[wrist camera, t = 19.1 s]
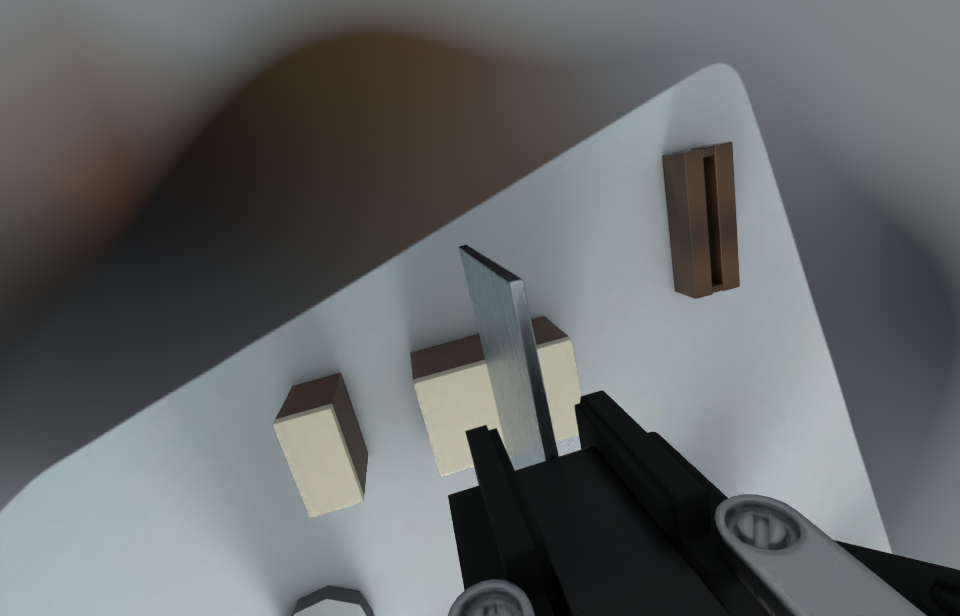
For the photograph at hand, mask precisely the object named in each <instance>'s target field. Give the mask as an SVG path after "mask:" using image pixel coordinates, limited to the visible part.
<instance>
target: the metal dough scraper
mask: <svg viewBox="0 0 960 616" xmlns="http://www.w3.org/2000/svg"><path fill="white" fill-rule="evenodd" d="M459 250H460V255H461V259H462V263H463V267H464V272H465V276H466V280H467V284H468V289H469V293H470V297H471V301H472V306H473V310H474V314H475V318H476V323H477V327H478V331H479V335H480V340H481V344H482V348H483V352H484V357H485V361H486V365H487V369H488V374H489V378H490V382H491V386H492V391H493V395H494V399H495V403H496V408H497V412H498V416H499V420H500V425H501V429H502V433H503V437H504V442H505V446H506V450H507V453H508V456H509V458H510V460H511V463H512V465H513V467H514V470H515V472H516V474H517V477H518V479H519V481H520V484H521V486H522V488H523V491H524V493H525V495H526V498H527V500H528V502H529V504H530V507H531V509H532V511H533V514H534V516H535V518H536V521H537V523H538V525H539V528H540V530H541V532H542V535H543V538H544V541H545V544H546V547H547V550H548V553H549V557H550V561H551V566H552V571H553V574H552V581H553V586H554V590H555V595H556V599H557V604H558V609H559V613H560V616H733V615H732V614H731V613H730V612H729V611H728V609H727V608H726V607H725V606H724V604H723V603H722V602H721V601H720V599H719V598H718V597H717V596H716V595H715V593H714V592H713V591H712V590H711V588H710V587H709V586H708V585H707V583H706V582H705V581H704V580H703V579H702V577H701V576H700V575H699V574H698V572H697V571H696V570H695V569H694V567H693V566H692V565H691V564H690V562H689V561H688V560H687V559H686V558H685V556H684V555H683V554H682V553H681V551H680V550H679V549H678V548H677V546H676V545H675V544H674V543H673V542H672V540H671V539H670V538H669V537H668V535H667V534H665V532H664V531H663V530H662V529H661V527H660V526H659V525H658V524H657V522H656V521H655V520H654V519H653V518H652V516H651V515H650V514H649V513H648V511H647V510H646V509H645V508H644V506H643V505H642V504H641V503H640V501H639V500H638V499H637V498H636V496H635V495H634V494H633V493H632V492H631V490H630V489H629V488H628V487H627V485H626V484H625V483H624V482H623V480H622V479H621V478H620V477H619V475H618V474H617V473H616V472H615V471H614V469H613V468H612V467H611V466H610V464H609V463H608V462H607V461H606V459H605V458H604V457H603V456H602V454H601V453H600V452H599V451H598V449H597V448H596V447H595V446H592V447H588V448H585V449H582V450H579V451H575V452H572V453H569V454H566V455H563V456H558V451H557V446H556V441H555V436H554V431H553V426H552V421H551V416H550V411H549V406H548V401H547V396H546V391H545V386H544V381H543V376H542V372H541V367H540V362H539V357H538V352H537V347H536V342H535V337H534V332H533V327H532V322H531V317H530V312H529V307H528V302H527V297H526V292H525V287H524V282H523V279H521V278H520V277H518V276H516V275H515V274H513V273H511V272H510V271H508V270H507V269H505V268H503V267H502V266H500V265H498V264H497V263H495V262H493V261H492V260H490V259H489V258H487V257H485V256H484V255H482V254H480V253H479V252H477V251H475V250H474V249H472V248H471V247H469V246H467V245H464V246H460V247H459Z"/></svg>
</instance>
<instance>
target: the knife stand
mask: <svg viewBox="0 0 960 616" xmlns="http://www.w3.org/2000/svg"><path fill="white" fill-rule="evenodd" d="M662 158H663V168H664V179H665V189H666V200H667V210H668V221H669V231H670V242H671V252H672V263H673V273H674V284H675V291H676V292H678V293H681V294H684V295H687V296H690V297H692V298H695V299H697V298H701V297H704V296H708V295H712V294H713V293H714V292H718V291H721V290H722V291H725V290H729V289H733V288H736V287H739V286H740V281H739V262H738V243H737V224H736V204H735V185H734V166H733V146H732V142H726V143H719V144H712V145H706V146H702V147H697V148H693V149H691V150H688V151H681V152H676V153H672V154H668V155H663V156H662Z"/></svg>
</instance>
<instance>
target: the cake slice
mask: <svg viewBox="0 0 960 616" xmlns="http://www.w3.org/2000/svg"><path fill="white" fill-rule="evenodd" d="M273 427H274V430H275V432H276V435H277V437H278V440H279V442H280V445H281V447H282V450H283V452H284V455H285V457H286V460H287V462H288V465H289V467H290V470H291V472H292V475H293V477H294V480H295V482H296V485H297V487H298V490H299V492H300V495H301V497H302V500H303V502H304V505H305V507H306V510H307V512H308V515H309V517H310V518H313V517H316V516H319V515H322V514H326V513H329V512H332V511H335V510H339V509H342V508H345V507H348V506H352V505H355V504H358V503H361V502H363V501H364V493H365V483H366V472H367V462H368V452H367V449H366V446H365V443H364V440H363V437H362V434H361V431H360V428H359V425H358V422H357V419H356V416H355V413H354V410H353V407H352V404H351V401H350V398H349V395H348V392H347V389H346V386H345V383H344V380H343V378H342V375H341V373H339V374H335V375H332V376H328V377H324V378H321V379H317V380H314V381H310V382H306V383H303V384H299V385H295V386H292V388H291V390H290V392H289V394H288V396H287V398H286V400H285V402H284V404H283V405H282V407H281V409H280V411H279V413H278V415H277V417H276V419H275V421H274V423H273Z"/></svg>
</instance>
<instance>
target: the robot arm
mask: <svg viewBox="0 0 960 616" xmlns="http://www.w3.org/2000/svg"><path fill="white" fill-rule="evenodd" d="M574 408H575V415H576V421H577V426H578V432H579V438H580V443H581V449H585V448H588V447H592V446H595V447H596V448H597V449H598V451H599V452H600V453H601V454H602V456H603V457H604V458H605V459H606V461H607V462H608V463H609V464H610V466H611V467H612V468H613V469H614V471H615V472H616V473H617V474H618V475H619V477H620V478H621V479H622V480H623V482H624V483H625V484H626V485H627V487H628V488H629V489H630V490H631V492H632V493H633V494H634V495H635V496H636V498H637V499H638V500H639V501H640V503H641V504H642V505H643V506H644V508H645V509H646V510H647V511H648V513H649V514H650V515H651V516H652V518H653V519H654V520H655V521H656V522H657V524H658V525H659V526H660V527H661V529H662V530H663V531H664V532H665V534H667V535H668V537H669V538H670V539H671V540H672V542H673V543H674V544H675V545H676V546H677V548H678V549H679V550H680V551H681V553H682V554H683V555H684V556H685V558H686V559H687V560H688V561H689V562H690V564H691V565H692V566H693V567H694V569H695V570H696V571H697V572H698V574H699V575H700V576H701V577H702V579H703V580H704V581H705V582H706V583H707V585H708V586H709V587H710V588H711V590H712V591H713V592H714V593H715V595H716V596H717V597H718V598H719V599H720V601H721V602H722V603H723V604H724V606H725V607H726V608H727V609H728V611H729V612H730V613H731V614H732V615H733V616H960V570H957V569H953V568H948V567H944V566H940V565H936V564H932V563H928V562H923V561H919V560H915V559H911V558H906V557H902V556H898V555H894V554H890V553H885V552H881V551H877V550H873V549H869V548H864V547H860V546H856V545H852V544H848V543H843V542H839V541H835V540H833V539H831V538H830V537H829V536H828V535H826V534H825V533H824V532H823V531H821V530H820V529H819V528H818V527H817V526H815V525H814V524H813V523H812V522H810V521H809V520H808V519H807V518H805V517H804V516H803V515H802V514H800V513H799V512H798V511H797V510H795V509H793V508H792V507H790V506H789V505H787V504H786V503H783V502H781V501H778V500H776V499H773V498H770V497H766V496H761V495H747V494H743V495H738V496H733V497H730V498H727V497H726V496H725V495H724V494H723V493H722V492H721V491H720V490H719V489H718V488H716V487H715V486H714V485H713V484H712V483H711V482H710V481H709V480H708V479H707V478H706V477H705V476H704V475H702V474H701V473H700V472H699V471H698V470H697V469H696V468H695V467H694V466H693V465H692V464H691V463H689V462H688V461H687V460H686V459H685V458H684V457H683V456H682V455H681V454H680V453H679V452H678V451H677V450H675V449H674V448H673V447H672V446H671V445H670V444H669V443H668V442H667V441H666V440H665V439H664V438H662V437H661V436H660V435H659V434H657V433H656V432H649V433H647V432H646V431H645V430H644V429H643V428H642V427H641V426H640V425H639V424H637V423H636V422H635V421H634V420H633V419H632V418H631V417H630V416H629V415H628V414H627V413H626V412H625V411H624V410H623V409H622V408H621V407H620V406H619V405H618V404H617V403H616V402H615V401H614V400H613V399H612V398H610V397H609V396H608V395H607V394H606V393H605V392H604V391H598V392H595V393H591V394H588V395H585V396H581V398H580V403H578V404H575V407H574ZM465 433H466V437H467V441H468V445H469V448H470V452H471V456H472V460H473V464H474V468H475V472H476V475H477V479H478V483H479V486H476V487H473V488H470V489H467V490H463V491H460V492H457V493H454V494H451V495H448V498H449V504H450V510H451V516H452V521H453V527H454V533H455V538H456V544H457V550H458V555H459V561H460V567H461V572H462V578H463V584H464V589H465V591H464V592H463V593H462V594H461V595H459V596H458V598H457V599H456V601H455V602H454V603H453V605H452V606H451V608H450V611H449V614H448V616H560V613H559V609H558V604H557V599H556V595H555V590H554V586H553V581H552V574H553V571H552V566H551V561H550V557H549V553H548V550H547V547H546V544H545V541H544V538H543V535H542V532H541V530H540V528H539V525H538V523H537V521H536V518H535V516H534V514H533V511H532V509H531V507H530V504H529V502H528V500H527V498H526V495H525V493H524V491H523V488H522V486H521V484H520V481H519V479H518V477H517V474H516V472H515V470H514V467H513V465H512V463H511V460H510V458H509V456H508V453H507V451H506V449H505V446H504V444H503V442H502V439H501V437H500V435H499V432H498V430H497V428H495V429H491V430H488V427H487V425H484V426H480V427H477V428H473V429H470V430H467V431H465Z"/></svg>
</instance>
